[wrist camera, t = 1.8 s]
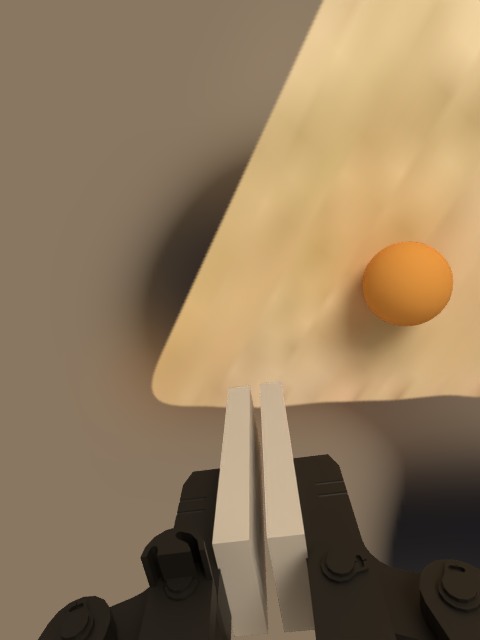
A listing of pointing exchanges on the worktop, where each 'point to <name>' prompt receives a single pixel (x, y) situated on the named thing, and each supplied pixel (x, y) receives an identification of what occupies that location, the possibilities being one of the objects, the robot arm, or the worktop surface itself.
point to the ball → (407, 283)
